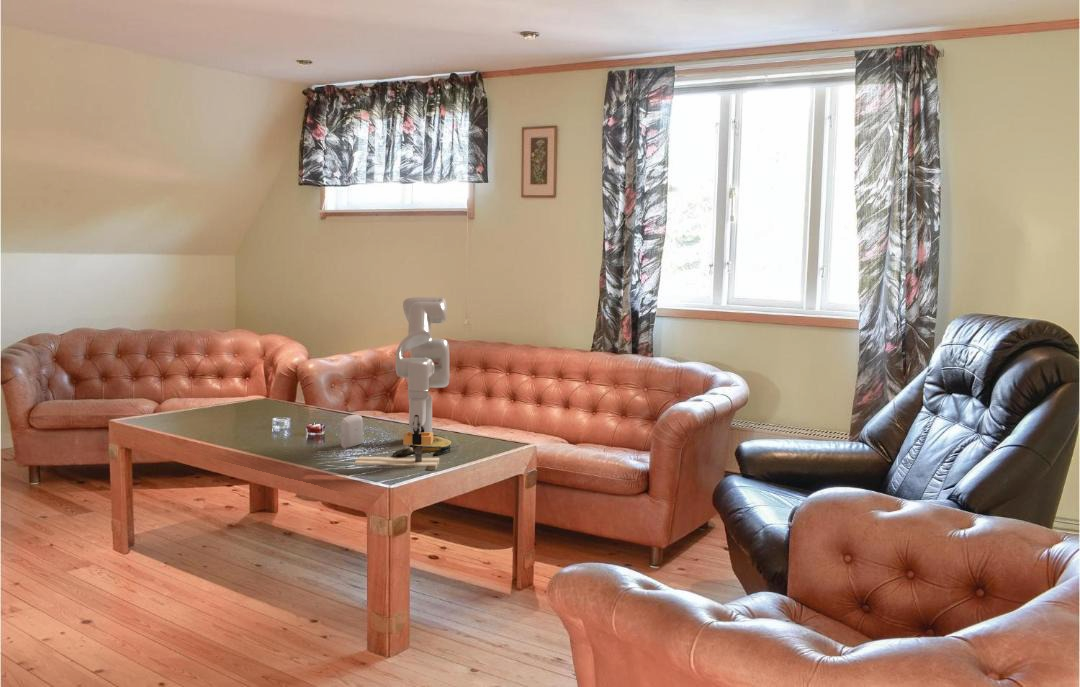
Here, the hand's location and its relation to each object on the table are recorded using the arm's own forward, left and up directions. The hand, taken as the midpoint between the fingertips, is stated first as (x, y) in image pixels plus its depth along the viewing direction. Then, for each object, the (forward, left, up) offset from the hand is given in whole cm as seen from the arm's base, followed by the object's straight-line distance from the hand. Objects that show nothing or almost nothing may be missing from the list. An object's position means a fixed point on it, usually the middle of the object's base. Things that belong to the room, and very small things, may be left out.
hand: (418, 441), depth 324 cm
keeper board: (0, -8, -9) cm, 12 cm away
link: (0, 0, 0) cm, 0 cm away
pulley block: (-18, -1, -9) cm, 20 cm away
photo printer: (-30, -31, -9) cm, 44 cm away
